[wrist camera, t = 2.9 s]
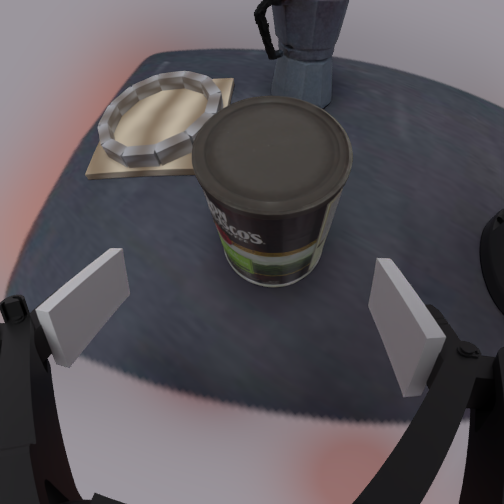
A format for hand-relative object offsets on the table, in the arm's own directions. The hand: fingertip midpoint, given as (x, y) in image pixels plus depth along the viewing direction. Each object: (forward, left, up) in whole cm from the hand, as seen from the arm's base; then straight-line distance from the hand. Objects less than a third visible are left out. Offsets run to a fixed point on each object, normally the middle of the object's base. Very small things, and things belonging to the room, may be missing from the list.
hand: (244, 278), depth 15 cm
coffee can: (-1, -9, -14) cm, 17 cm away
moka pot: (-4, -32, -14) cm, 35 cm away
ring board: (+15, -26, -14) cm, 33 cm away
